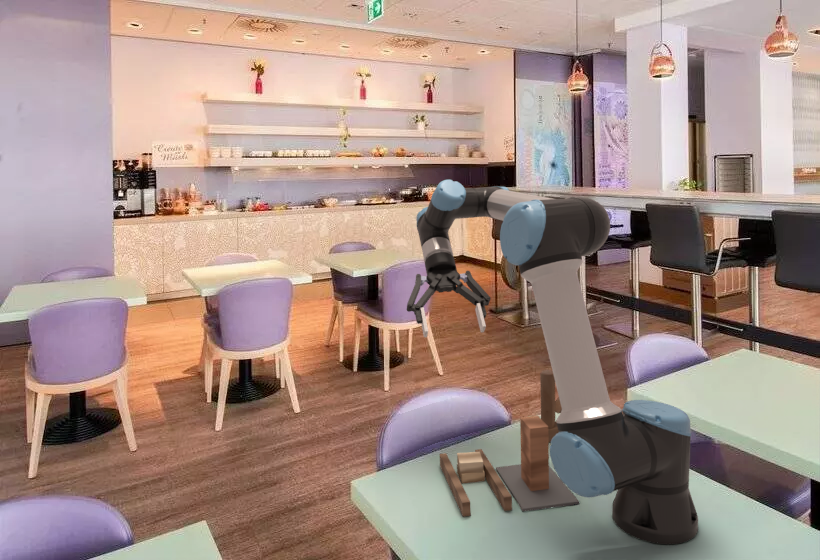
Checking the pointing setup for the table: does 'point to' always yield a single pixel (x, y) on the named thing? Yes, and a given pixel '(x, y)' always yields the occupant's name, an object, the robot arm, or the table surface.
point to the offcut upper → (470, 462)
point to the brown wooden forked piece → (549, 402)
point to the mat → (539, 498)
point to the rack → (490, 477)
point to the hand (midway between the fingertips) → (454, 332)
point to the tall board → (534, 453)
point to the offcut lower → (471, 476)
